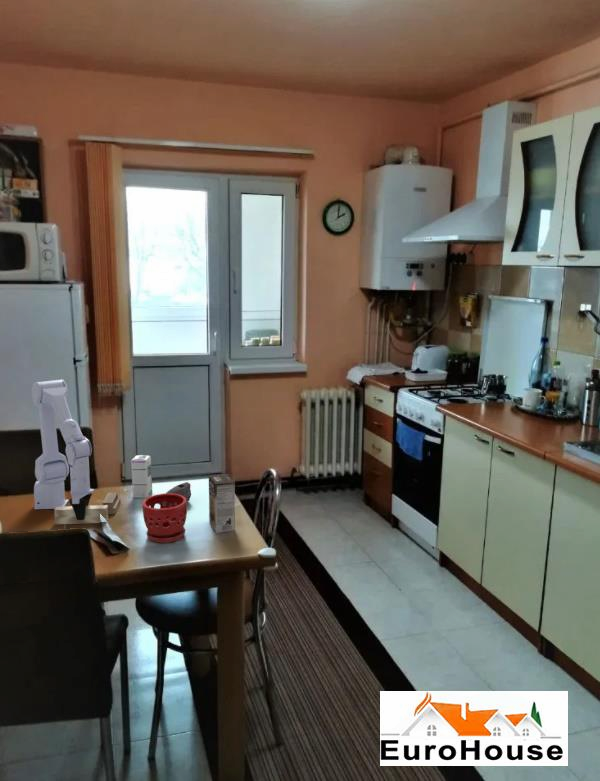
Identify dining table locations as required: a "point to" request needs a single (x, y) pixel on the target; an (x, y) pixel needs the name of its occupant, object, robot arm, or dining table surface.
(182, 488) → the perforated stone tool
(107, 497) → the walnut ridge
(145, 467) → the syrup box
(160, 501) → the plant pot
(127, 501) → the dining table surface
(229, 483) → the coffee box
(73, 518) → the metal bar
